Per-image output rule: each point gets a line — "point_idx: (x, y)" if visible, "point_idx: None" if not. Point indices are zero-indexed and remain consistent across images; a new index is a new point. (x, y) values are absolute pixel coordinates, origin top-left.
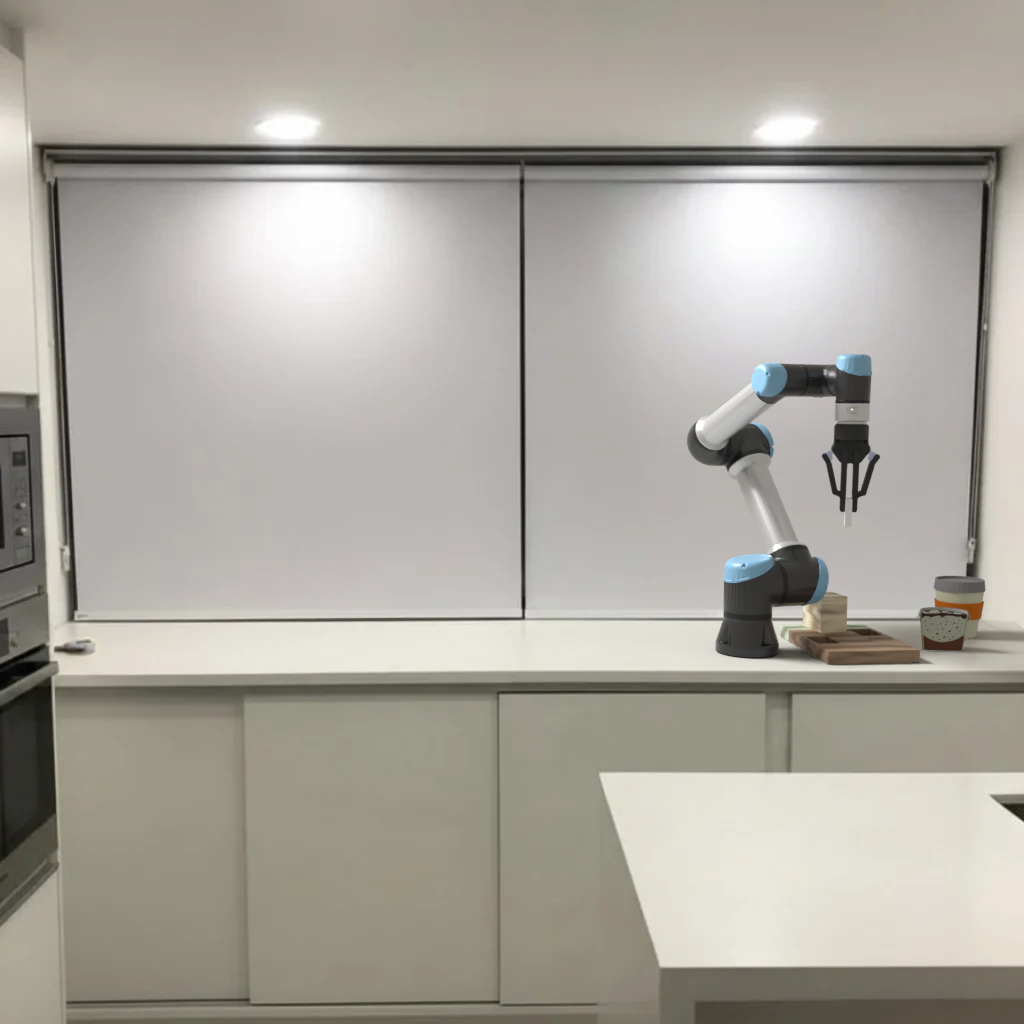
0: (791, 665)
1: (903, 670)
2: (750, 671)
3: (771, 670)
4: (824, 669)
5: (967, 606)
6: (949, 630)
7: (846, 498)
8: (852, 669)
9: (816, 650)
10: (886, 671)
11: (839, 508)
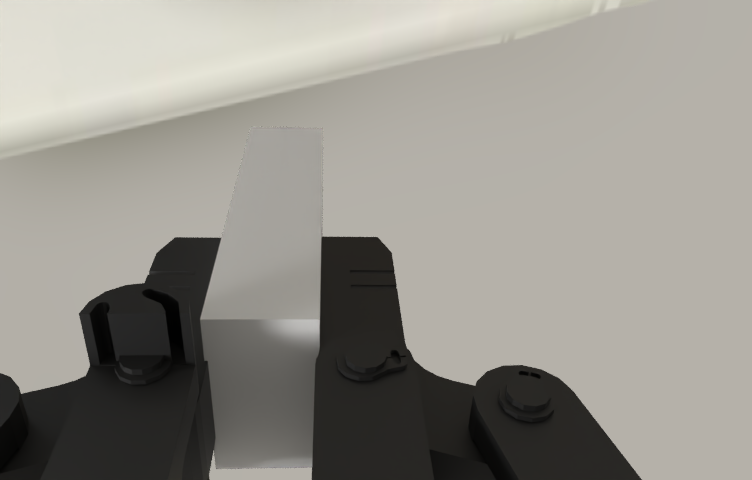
0: (136, 28)
1: (515, 16)
2: (21, 148)
3: (83, 119)
4: (252, 64)
5: None
6: None
7: (228, 458)
8: (345, 42)
9: None
10: (455, 46)
11: (155, 265)
